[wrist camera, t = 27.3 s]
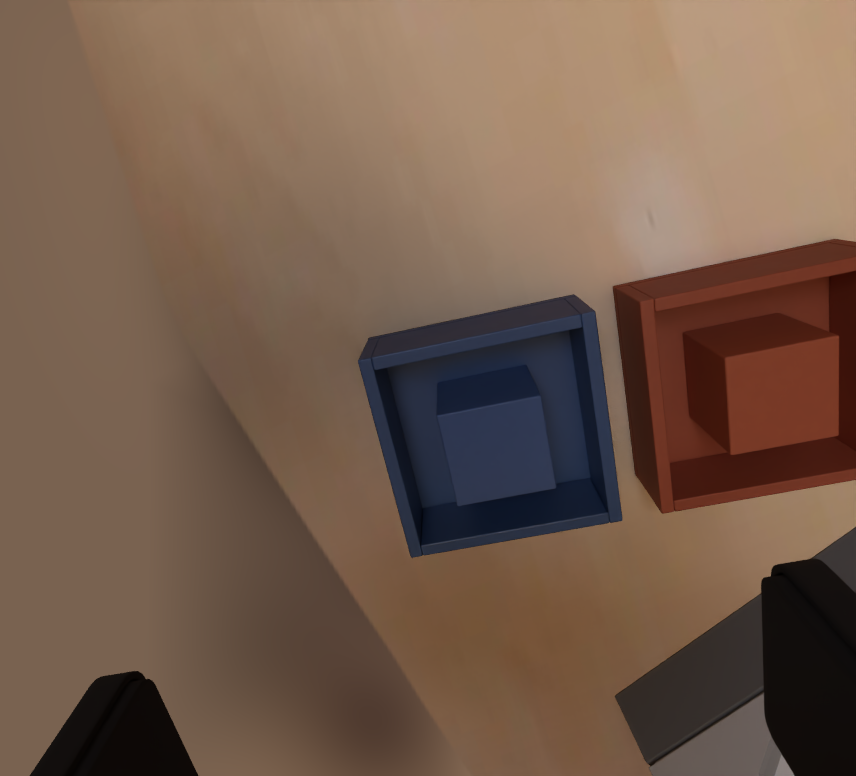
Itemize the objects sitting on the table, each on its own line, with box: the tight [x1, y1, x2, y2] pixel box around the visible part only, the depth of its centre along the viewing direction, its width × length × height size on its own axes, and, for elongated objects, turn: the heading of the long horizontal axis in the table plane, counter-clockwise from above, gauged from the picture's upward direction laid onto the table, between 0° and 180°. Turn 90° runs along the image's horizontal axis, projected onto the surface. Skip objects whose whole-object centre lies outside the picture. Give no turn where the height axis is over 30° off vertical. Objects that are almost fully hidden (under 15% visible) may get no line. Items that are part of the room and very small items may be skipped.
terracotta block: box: [683, 313, 839, 455], centre depth 26 cm, size 4×4×4 cm
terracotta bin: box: [613, 239, 856, 513], centre depth 27 cm, size 10×10×4 cm
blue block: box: [436, 365, 557, 506], centre depth 28 cm, size 4×4×4 cm
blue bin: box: [358, 294, 622, 558], centre depth 28 cm, size 10×10×4 cm
